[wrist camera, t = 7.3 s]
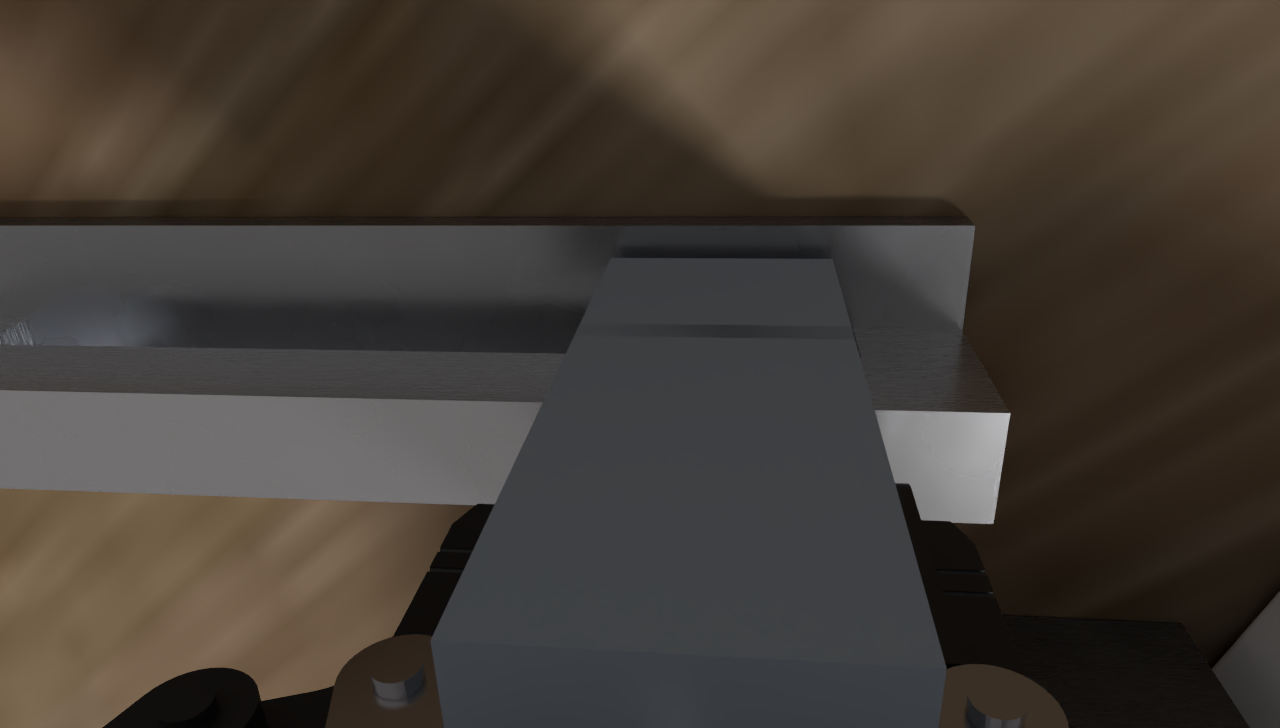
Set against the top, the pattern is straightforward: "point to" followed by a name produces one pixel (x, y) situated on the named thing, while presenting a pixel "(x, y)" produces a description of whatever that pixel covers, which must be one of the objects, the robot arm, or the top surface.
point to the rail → (419, 348)
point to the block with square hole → (1122, 673)
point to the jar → (1255, 669)
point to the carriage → (698, 524)
